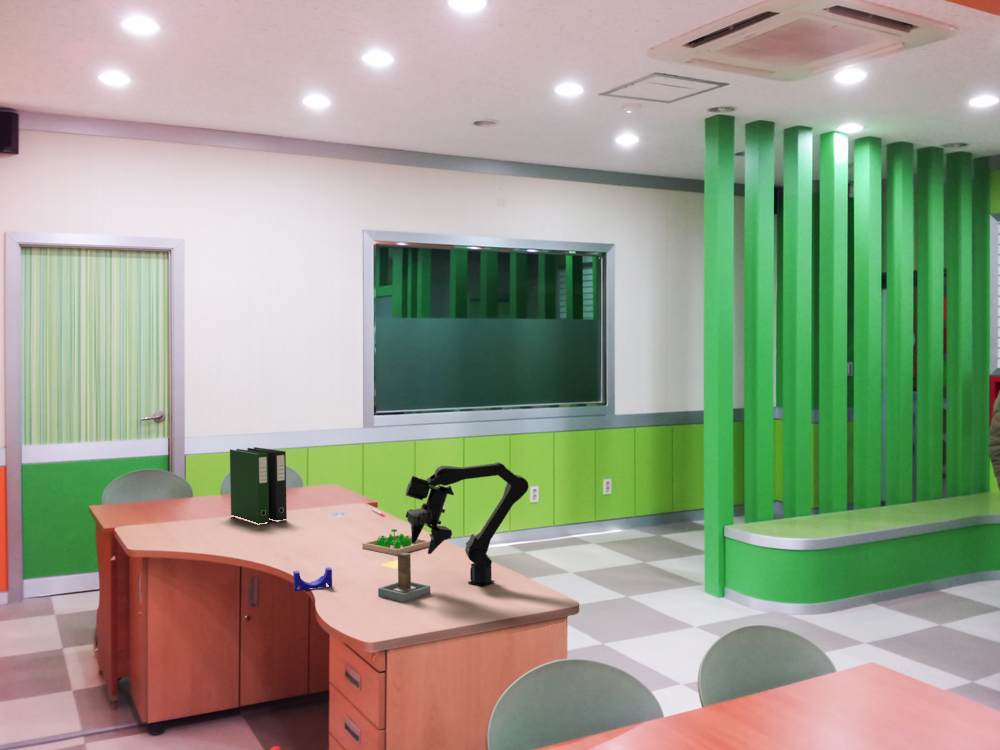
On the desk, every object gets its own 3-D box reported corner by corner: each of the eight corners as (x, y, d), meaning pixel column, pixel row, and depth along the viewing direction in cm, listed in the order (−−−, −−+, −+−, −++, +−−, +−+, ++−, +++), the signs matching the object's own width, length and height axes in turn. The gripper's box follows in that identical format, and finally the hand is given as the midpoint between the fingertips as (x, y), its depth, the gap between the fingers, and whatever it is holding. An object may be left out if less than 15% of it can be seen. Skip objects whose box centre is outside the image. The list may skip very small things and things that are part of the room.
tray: (430, 593, 271) (430, 586, 271) (404, 602, 262) (404, 594, 262) (404, 587, 278) (404, 580, 278) (378, 596, 269) (378, 588, 269)
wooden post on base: (407, 589, 273) (406, 551, 273) (415, 591, 271) (415, 553, 270) (393, 594, 269) (392, 554, 268) (402, 596, 266) (401, 556, 266)
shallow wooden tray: (430, 545, 337) (430, 540, 337) (396, 555, 322) (396, 550, 322) (397, 539, 349) (397, 534, 349) (362, 548, 334) (362, 543, 334)
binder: (229, 517, 399) (228, 449, 398) (258, 513, 410) (257, 446, 409) (258, 525, 380) (257, 454, 379) (288, 520, 390) (286, 451, 390)
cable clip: (329, 584, 284) (329, 566, 284) (332, 587, 280) (331, 569, 280) (293, 588, 279) (292, 570, 279) (295, 591, 275) (294, 573, 275)
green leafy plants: (420, 544, 340) (420, 527, 340) (401, 553, 327) (400, 535, 326) (387, 541, 346) (387, 524, 346) (367, 549, 333) (367, 532, 333)
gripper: (400, 491, 280) (386, 536, 281) (433, 512, 267) (418, 558, 268) (426, 494, 288) (412, 537, 289) (459, 514, 274) (444, 560, 275)
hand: (421, 548), depth 280 cm, fingers open, 9 cm apart
